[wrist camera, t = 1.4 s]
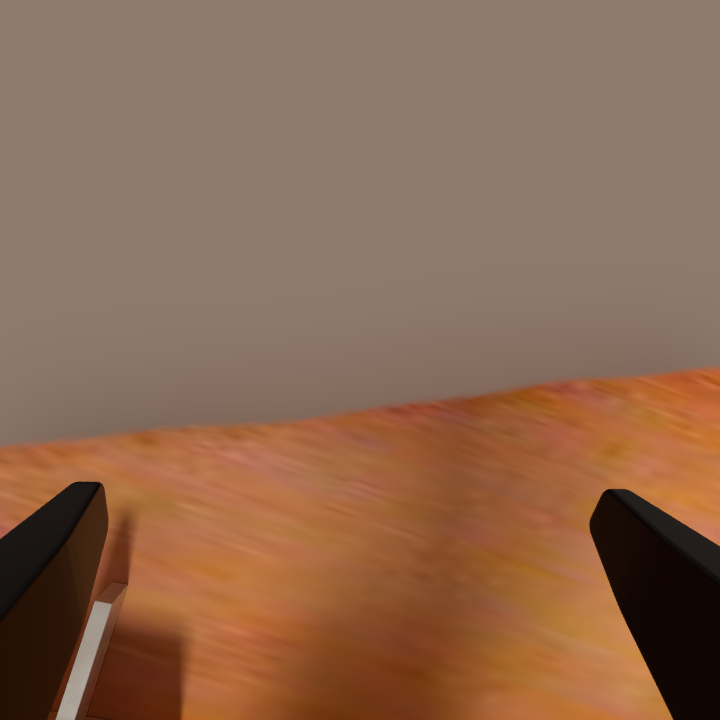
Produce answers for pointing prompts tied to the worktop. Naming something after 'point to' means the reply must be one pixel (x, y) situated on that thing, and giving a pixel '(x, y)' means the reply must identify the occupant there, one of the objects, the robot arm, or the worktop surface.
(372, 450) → the worktop surface
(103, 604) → the bracket
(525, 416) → the worktop surface
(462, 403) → the worktop surface
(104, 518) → the robot arm
